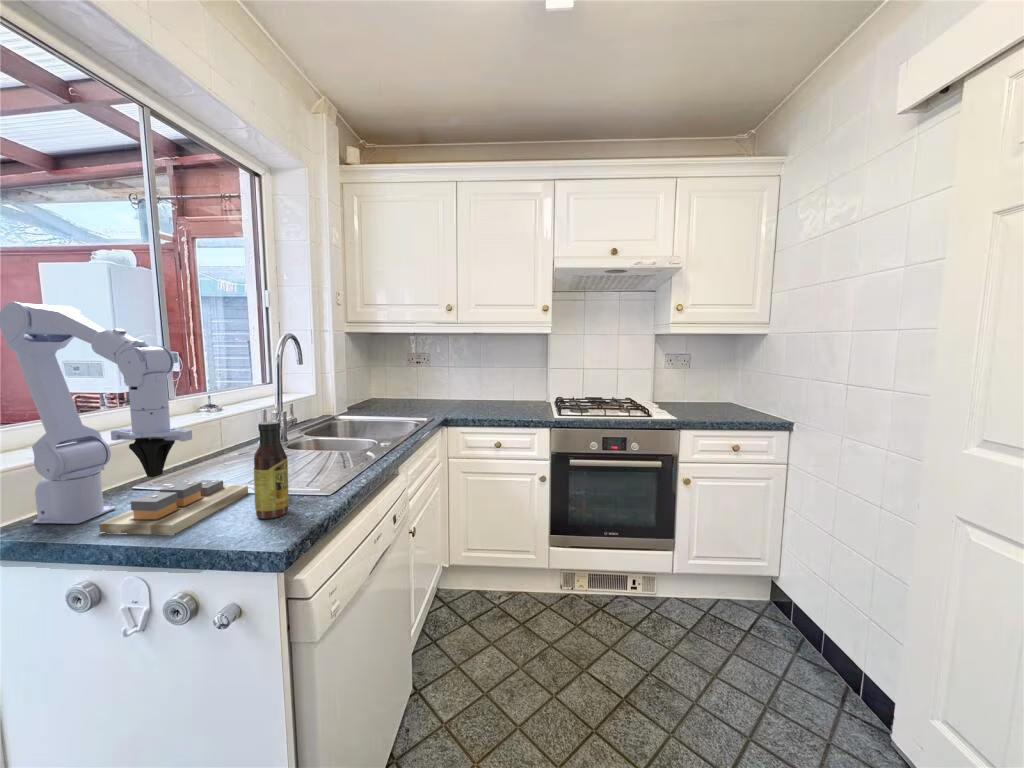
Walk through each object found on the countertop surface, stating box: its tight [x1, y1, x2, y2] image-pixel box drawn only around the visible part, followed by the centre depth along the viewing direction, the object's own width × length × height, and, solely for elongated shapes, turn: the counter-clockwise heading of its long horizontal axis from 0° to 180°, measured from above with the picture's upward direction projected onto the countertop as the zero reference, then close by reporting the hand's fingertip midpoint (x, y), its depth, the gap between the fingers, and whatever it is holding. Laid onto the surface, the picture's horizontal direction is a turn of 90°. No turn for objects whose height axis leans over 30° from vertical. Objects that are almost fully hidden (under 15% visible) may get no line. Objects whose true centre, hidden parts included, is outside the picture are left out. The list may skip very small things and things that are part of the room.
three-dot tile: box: [198, 479, 224, 496], centre depth 96 cm, size 5×5×4 cm
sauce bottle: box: [253, 420, 290, 520], centre depth 88 cm, size 6×6×20 cm
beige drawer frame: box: [98, 484, 249, 536], centre depth 89 cm, size 14×22×2 cm, turn 179°
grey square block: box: [130, 491, 178, 520], centre depth 83 cm, size 5×5×4 cm
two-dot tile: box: [159, 481, 202, 507], centre depth 89 cm, size 5×5×4 cm
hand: (154, 475), depth 82 cm, fingers closed
